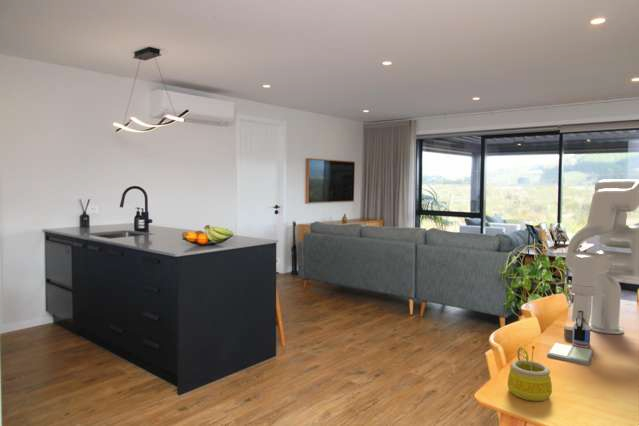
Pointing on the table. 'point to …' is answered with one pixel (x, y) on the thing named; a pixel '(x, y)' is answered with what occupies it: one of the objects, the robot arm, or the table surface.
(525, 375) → the yellow-green planter pot
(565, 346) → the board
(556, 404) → the table surface
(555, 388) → the table surface
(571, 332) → the walnut block
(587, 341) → the pill bottle
